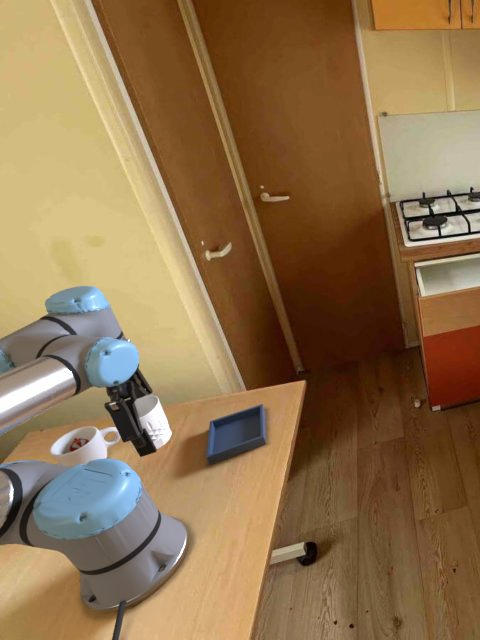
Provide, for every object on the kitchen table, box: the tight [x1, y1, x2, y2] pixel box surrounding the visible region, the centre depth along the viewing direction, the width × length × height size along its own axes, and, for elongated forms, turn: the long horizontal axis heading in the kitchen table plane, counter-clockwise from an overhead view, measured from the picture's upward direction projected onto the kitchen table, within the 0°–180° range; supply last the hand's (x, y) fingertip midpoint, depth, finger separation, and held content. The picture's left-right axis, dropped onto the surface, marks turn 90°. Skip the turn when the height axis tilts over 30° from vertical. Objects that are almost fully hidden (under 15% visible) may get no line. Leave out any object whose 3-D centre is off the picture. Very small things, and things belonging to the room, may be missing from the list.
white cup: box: [110, 394, 173, 454], centre depth 91 cm, size 8×8×10 cm
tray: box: [205, 403, 267, 465], centre depth 103 cm, size 12×12×2 cm
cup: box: [49, 425, 121, 467], centre depth 96 cm, size 11×8×8 cm
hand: (152, 438), depth 93 cm, fingers closed on white cup, 8 cm apart
